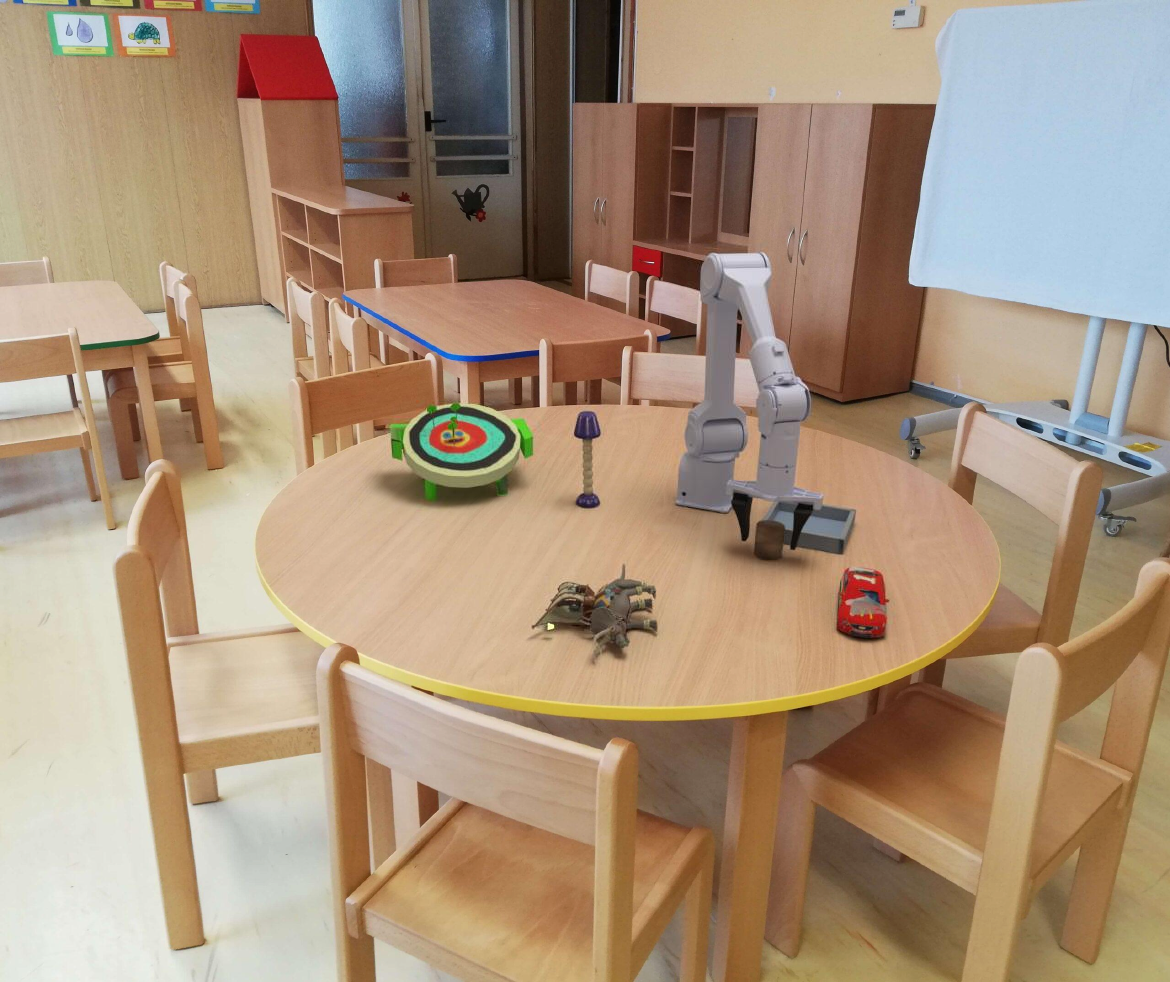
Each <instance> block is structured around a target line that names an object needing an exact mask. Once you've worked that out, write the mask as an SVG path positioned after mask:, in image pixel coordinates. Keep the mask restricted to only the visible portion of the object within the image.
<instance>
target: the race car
mask: <svg viewBox="0 0 1170 982" xmlns="http://www.w3.org/2000/svg"><path fill="white" fill-rule="evenodd" d="M886 590H887V589H886V583H885V580H884V575H883V574H882V573H881V572H880V571H879V570H876V569H873V568H868V567H861V566H860V567H859V566H851V567H847V568H846V569H845V570H844V572H843V574H842V577H841V578H840V584H839V591H838V595H837V596H838V600H837V615H836V620H837V621H836V630H839V631H841V632H843V633H844V634H847V635H850V636H855V637H859V638H866V639H867V638H870V639H875V638H880V637H884V636H885V633H886V627H887V623H888V621H887V620H888V619H887V603H890V599H888V598H886Z"/></svg>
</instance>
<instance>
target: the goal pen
mask: <svg viewBox="0 0 1170 982" xmlns="http://www.w3.org/2000/svg"><path fill="white" fill-rule="evenodd" d="M797 506H798V505H795V504H789V503H783V502H777V501H776V502H771V505H770V506H769V508H768V510H767V512H766V513H765V514H764V516H763V518H762V519H761V521H762V520H773V521H778V522H780V523H782V524H784V525H785V532H784V541H783V545H784V544H785V545H789V546H790V544H791V539H792V533H793V518H794V510H795V509H796V507H797ZM856 514H857V509H855V508H848V507H842V506H837V505H830V504H823V503H822V507H821V509H820V510H816V509H814V510H813V512H812V514H811V516H810V517H809V519H808V520H807V522H806V523H805V525H804V527H803V529H802V531H801V533H800V536H799V539H798V543H797V547H801V548H806V549H812V550H816V551H817V550H818V551H823V552H829V553H833V554H834V553H835V554H839V555H843V554H844V551H845V548H846V547H847V543H848V541H849V538H850V535H851V533H852V530H853V527H854V525H855V522H856Z"/></svg>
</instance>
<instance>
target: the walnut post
mask: <svg viewBox="0 0 1170 982" xmlns="http://www.w3.org/2000/svg"><path fill="white" fill-rule="evenodd" d="M755 526H756V527H755V535H754V545H753V555H754V557H756V558H757V559H760V560H763V561H768V562H772V561H773V562H774V561H778V560H780V559H782V557H783V549H784V543H783V541H784V532H785V525H784V524H782V523H780V522H778V521H773V520H762V519H761V520H759V521H757V522H756V525H755Z"/></svg>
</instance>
